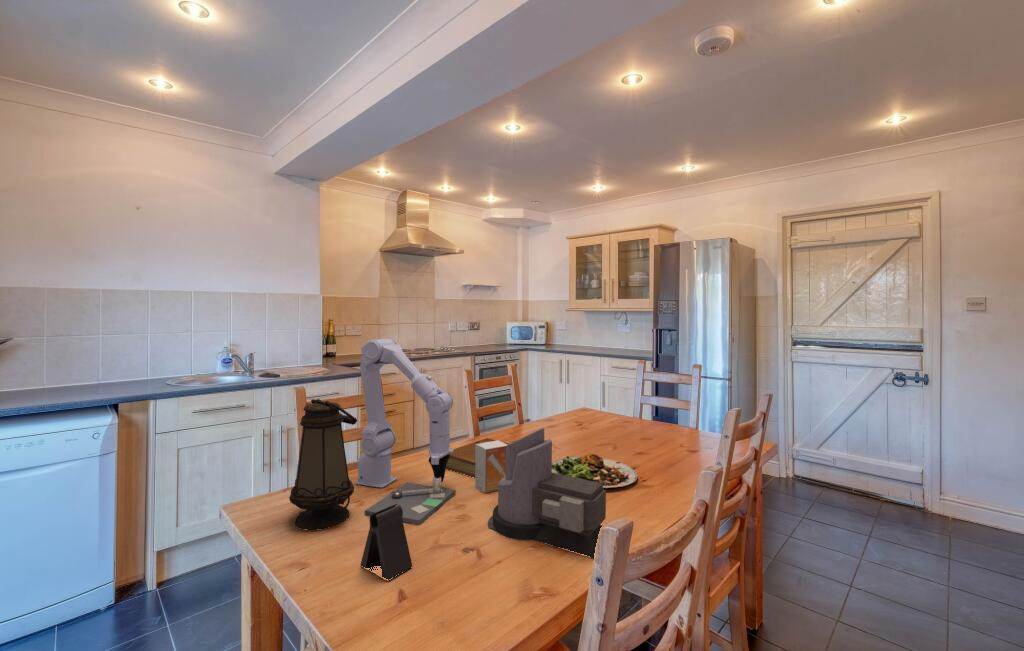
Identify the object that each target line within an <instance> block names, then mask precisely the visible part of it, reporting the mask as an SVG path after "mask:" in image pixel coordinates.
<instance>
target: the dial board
mask: <svg viewBox="0 0 1024 651" xmlns="http://www.w3.org/2000/svg"><path fill="white" fill-rule="evenodd" d="M431 488H433V485H425V484H420V483H413V482H406V483H404V484H402V486H400V487H398V488H397V489H394V491H396V490H400V491H411V490H421V489H431ZM442 488H443V492H440V493H423V494H414V495H404V496H401V497H399V498H393V497H392V492H390V493H389V494H387V495H386V496H384V497H383V498H381V499H379V501H377V502H376V503H374V504H372V505H371V506H370V507H368V508H366V509H364V516H367V517H368V516H369V517H370V515H371V514H373V513H376V512H378V511H380V510H383V509H385V508H388V507H390V506H392V505H395V504H397V505H396V506H398V505H400V506H401V507H402V510H403V523H405V524H410V525H411V524H412V525H415V526H420V525H421V524H422V522H423V523H424V522H425V521H426V520H427V519H428V518H430V517H431V516H432V515H433V514H434V513H435V512H436V511H438V510H439V509H440V508H441V507H442V506H443V505H445V504H446V503H447V502H448V501H449V500H450V499H451V498H452V497H454V496H455V495H456V489H453V488H446V487H442ZM396 506H395V507H396Z"/></svg>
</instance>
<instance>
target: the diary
mask: <svg viewBox="0 0 1024 651" xmlns="http://www.w3.org/2000/svg"><path fill="white" fill-rule="evenodd" d="M492 441H497V439H492V438H488V437H487V438H483V439H480V440H478V441H473V442H471V443H469V444H465V445H462V446H459V447H457V448H453V449H454V451H453V453H449V454H450V458H449V460H448V462H447V465H446V470H447V469H448V471H450V470H452V471H451V472H453V471H455V472H454V473H456V472H459V473H462V474H461V475H463V474H465V475H464V476H466V475H468V476H467V477H469V476H471V477H470V478H472V477H474V478H473V479H475V457H476V444H480V443H485V442H492ZM502 442H503V443H505V444H507V445H508V444H510V443H511V442H510V443H509V442H505V441H502ZM459 473H458V474H459Z"/></svg>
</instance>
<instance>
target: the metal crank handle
mask: <svg viewBox="0 0 1024 651" xmlns="http://www.w3.org/2000/svg"><path fill="white" fill-rule="evenodd" d="M432 486H433V488H431V489H421V490H411V491H400V490H397V489H395V490H396V491H395V490H393V491H392V492H391V493H392V497H393V498H399V497H401V496H404V495H414V494H423V493H440V492H443V488H444V487H443V486H442V482H441V477H440V476H435V477H434V476H433V477H432Z"/></svg>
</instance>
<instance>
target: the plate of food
mask: <svg viewBox="0 0 1024 651" xmlns="http://www.w3.org/2000/svg"><path fill="white" fill-rule="evenodd" d="M552 473H557V474H561V475H566V476H570V477H575V478H580V479H584V480H589V481H593V482H598V483H603V489H604V488H605V489H608V488H609V489H610V488H618V487H620V488H621V487H626V486H629V485H630V484H632V483H635V482H636V481H637V479H638V476H639V475H638V473H637V472H636V471H635V470H634V469H633V467H631V466H629V465H628V464H626V463H624V462H621V461H618V460H614V459H611V458H606V457H605V458H604V457H602V456H600V455H598V454H596V453H588V454H586V455H582V456H577V455H576V456H569V455H567V456H566V457H564V458H560V459H557V460H555V461H553V462H552Z"/></svg>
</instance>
